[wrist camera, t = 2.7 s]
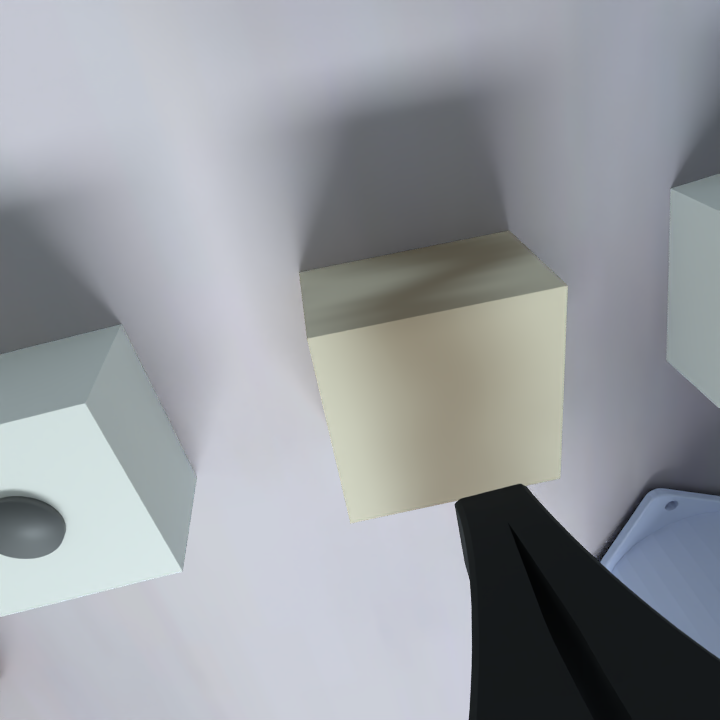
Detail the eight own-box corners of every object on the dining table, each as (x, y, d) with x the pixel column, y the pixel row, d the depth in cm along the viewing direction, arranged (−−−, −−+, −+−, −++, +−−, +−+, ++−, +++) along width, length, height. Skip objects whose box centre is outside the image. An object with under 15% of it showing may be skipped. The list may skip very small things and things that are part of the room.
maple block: (506, 228, 17) (567, 285, 13) (510, 397, 20) (560, 478, 16) (299, 269, 16) (306, 338, 13) (336, 433, 20) (350, 523, 16)
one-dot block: (122, 320, 17) (83, 408, 13) (197, 473, 20) (181, 577, 16) (-85, 372, 17) (-181, 474, 13) (24, 517, 20) (-30, 630, 16)
